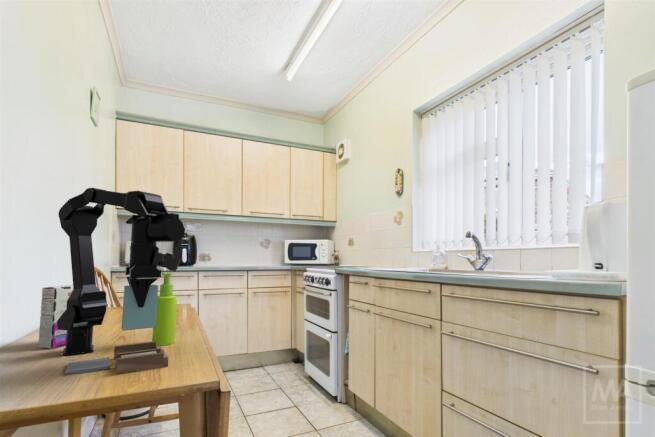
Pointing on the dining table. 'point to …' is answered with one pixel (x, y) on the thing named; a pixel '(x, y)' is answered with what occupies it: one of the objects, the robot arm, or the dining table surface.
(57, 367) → the dining table surface
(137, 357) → the walnut rack
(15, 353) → the dining table surface
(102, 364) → the slate mat
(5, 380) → the dining table surface
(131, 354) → the gray notched block
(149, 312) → the light blue rectangular prism
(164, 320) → the soap dispenser
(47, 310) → the candy bar box
